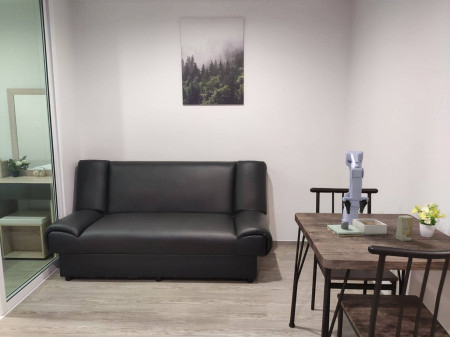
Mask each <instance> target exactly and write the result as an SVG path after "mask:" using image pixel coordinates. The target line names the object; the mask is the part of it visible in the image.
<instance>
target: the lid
mask: <svg viewBox="0 0 450 337" xmlns="http://www.w3.org/2000/svg"><path fill="white" fill-rule="evenodd" d="M326 225H327V227H329V228H330V229H332V230H333V231H334V232H336V233H337V234H362V233H363V232H362V231H361V230H359V229H357V228H356V227H354V226H352V224H349V222H347V221H342V220H341V221H340V224H326ZM327 227H326V228H327Z"/></svg>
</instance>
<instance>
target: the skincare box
mask: <svg viewBox="0 0 450 337" xmlns="http://www.w3.org/2000/svg"><path fill="white" fill-rule="evenodd" d="M396 222H397V223H396V232H395V239H397V240H398V241H400V242H403V241H404V242H406V241H412V233H413V225H414V224H413V223H414V217H412V216H410V215H408V214H407V215H398V216H397V221H396Z"/></svg>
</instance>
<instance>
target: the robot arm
mask: <svg viewBox="0 0 450 337" xmlns="http://www.w3.org/2000/svg"><path fill="white" fill-rule="evenodd" d="M363 159H364V152H363V151H362V150H361V151H360V150H346V151H345V163H344V164H345V166H347V167H348V170H349V171H348V172H349V174H348V175H349V177H348V178H349V179H348V180H349V181H348V182H349V186H348V187H349V188H348V192H346V193H345V194H344V195H343V197H342V202H343V207H344V208H343V209H342V210H343V211H342V219H340V220H341V221H347V222H349V225H350V224H351V225H352V223H353V219H359V214H360V215H362V214H363V213H364V210H365V209H366V206H367V205H368V203H369V201H370V200H369V199H370V198H369V197H368V196H362V189H363V179H364V176H365V170H364V168H363V166H362V164H363Z"/></svg>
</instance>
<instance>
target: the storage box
mask: <svg viewBox="0 0 450 337" xmlns="http://www.w3.org/2000/svg"><path fill="white" fill-rule="evenodd" d="M351 225H352V226H354V227H356V228H357V229H359V230H361V231H362V232H363V233H361V234H363V236H364V235H386V234H387V232H388V224H386V223H384V222H382V221H380V220H378V219H376V218H358V219H353V223H352V224H351Z"/></svg>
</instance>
